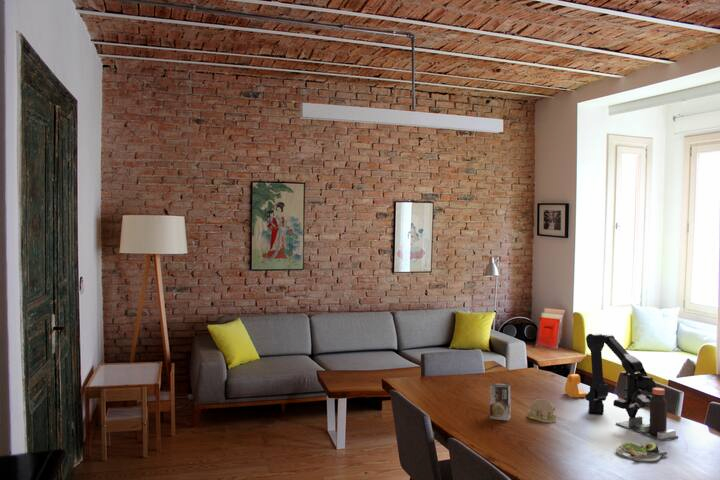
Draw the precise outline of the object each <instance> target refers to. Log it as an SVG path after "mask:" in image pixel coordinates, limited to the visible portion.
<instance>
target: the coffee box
mask: <svg viewBox="0 0 720 480" xmlns="http://www.w3.org/2000/svg"><path fill="white" fill-rule="evenodd" d="M511 385H512V384H507V383H499V382H498V383H497V382H492V383H491V384H490V386H489V419H490V420H491V419H492V420H499V421H510V419H511V416H512V415H511V405H512V404H511V403H512V402H511V396H512V395H511V394H512V393H511V389H512V387H511Z"/></svg>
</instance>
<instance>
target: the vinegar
mask: <svg viewBox="0 0 720 480" xmlns="http://www.w3.org/2000/svg"><path fill="white" fill-rule="evenodd" d="M665 392H666V390H665V388H663V387H656V388H653V392H652V398H651V399H650V405H649V424H650V433H651V434H654V435H657V432H660V431H665V430H667V425H668V424H667V423H668V422H667V418H668V416H667V415H668V414H667V412H668V411H667V409H668V401H667V399H666V398H665V395H666V394H665Z"/></svg>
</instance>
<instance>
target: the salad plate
mask: <svg viewBox="0 0 720 480" xmlns="http://www.w3.org/2000/svg"><path fill="white" fill-rule="evenodd" d="M614 451H615V452H616V453H617V454H618V455H619V456H620V457H622V458H625V459H628V460H633V461H636V462H646V463H647V462H648V463H650V462H651V463H652V462H653V463H654V462H656V461H659V460H660V459H661V457H663V456H665V455H668V452H667V451H664V452H663V451H662V450H661V449H660V448H659V446H658V444H657V443H656V442H653V441H647V442H644V443H643V444H638V443H635V442H634V443H633V442H624V443H621V444H619V445H618V446H617V447H616V449H615V450H614ZM624 452H625V453H628V454H630V455H627V454H624Z"/></svg>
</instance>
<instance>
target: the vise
mask: <svg viewBox="0 0 720 480" xmlns="http://www.w3.org/2000/svg"><path fill="white" fill-rule="evenodd" d="M615 425H616V426H618V427H621V428H623V429H626V430H629V431H631V432H634V433H638V434H641V435H643V436H645V437H648V438H651V439H653V440H656V441H659V442H664V441H669V440H675V439H679V435H677V431H676V430H675V429H672V428H671V429H666V430H665V431H660V432H657V435H654V434H651V433H650V431H649V432H642V431H641V428H639V427H637V426H632V427H631V426H629V420H626V421H618V422H615ZM642 425H646V424H645V423H643V422H642Z"/></svg>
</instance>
